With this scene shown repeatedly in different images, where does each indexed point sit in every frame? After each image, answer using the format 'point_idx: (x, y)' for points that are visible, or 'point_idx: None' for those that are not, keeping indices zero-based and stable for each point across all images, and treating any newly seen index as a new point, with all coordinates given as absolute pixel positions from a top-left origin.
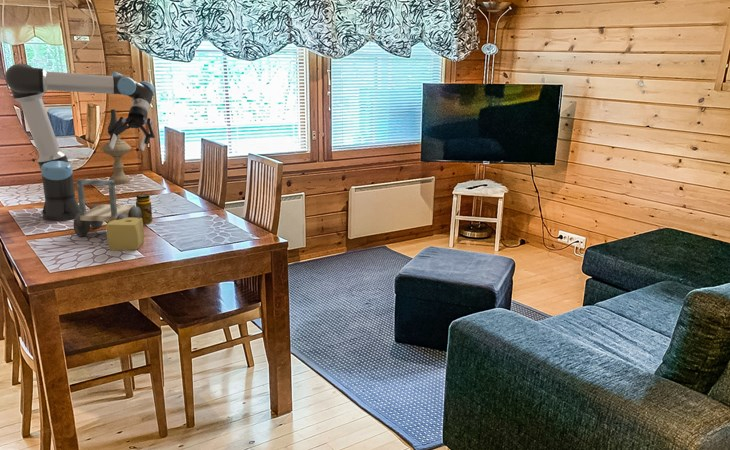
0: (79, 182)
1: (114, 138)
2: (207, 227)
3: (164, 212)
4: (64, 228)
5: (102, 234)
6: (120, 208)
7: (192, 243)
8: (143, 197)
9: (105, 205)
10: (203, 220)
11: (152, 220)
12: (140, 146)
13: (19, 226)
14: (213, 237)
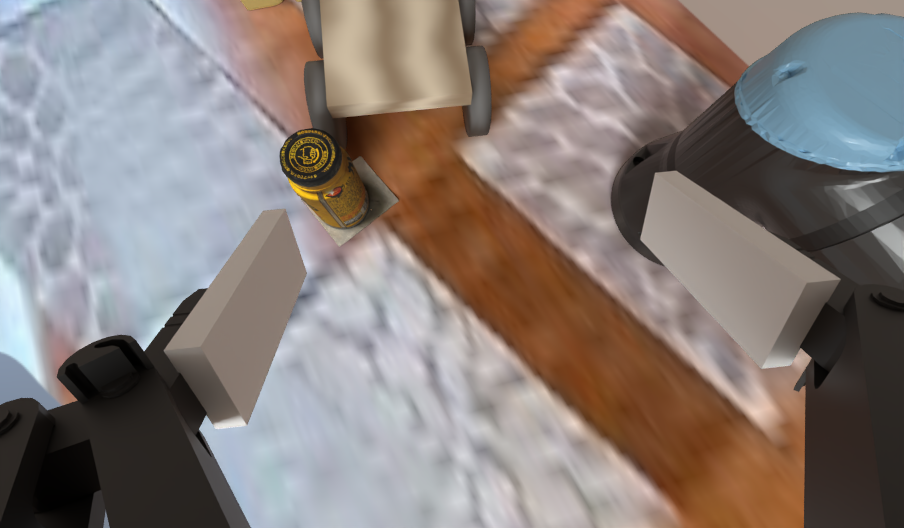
0: None
1: (734, 264)
2: (89, 192)
3: (331, 356)
4: (563, 82)
5: None
6: (358, 50)
7: (96, 27)
8: (296, 133)
9: (443, 78)
10: (128, 277)
11: (325, 228)
12: (279, 213)
13: (711, 73)
14: (42, 91)
